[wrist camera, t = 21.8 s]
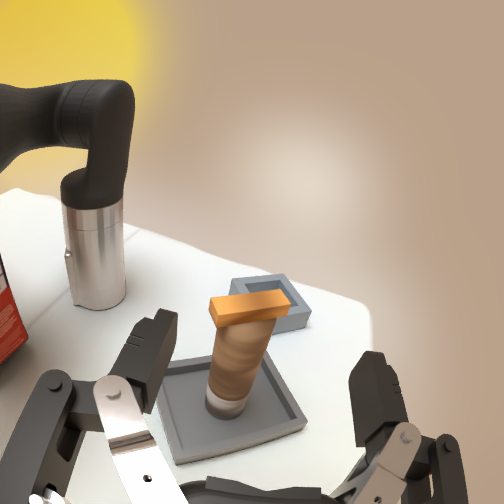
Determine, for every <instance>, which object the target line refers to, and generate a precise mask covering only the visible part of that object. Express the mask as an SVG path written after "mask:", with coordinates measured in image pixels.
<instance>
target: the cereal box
mask: <svg viewBox="0 0 504 504" xmlns="http://www.w3.org/2000/svg"><path fill="white" fill-rule="evenodd" d="M27 339H28V334H27V332H26V330H25V327H24V325H23V323H22V320H21V317H20V315H19V312H18V309H17V306H16V304H15V300H14V297H13V295H12V292H11V289H10V286H9V283H8V279H7V276H6V272H5V269H4V265H3V262H2V258H1V255H0V365H1V364H3V363H5V361H6V360H7V359H8V358H9V357H10V356H11V355H12V354H13V353H14V352H15V351H16V350H17V349H18V348H19V347H20V346H22V345H23V344H24V343H25V342H26V341H27Z"/></svg>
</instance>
